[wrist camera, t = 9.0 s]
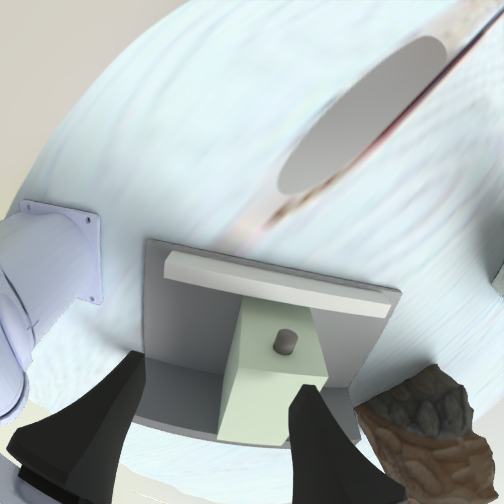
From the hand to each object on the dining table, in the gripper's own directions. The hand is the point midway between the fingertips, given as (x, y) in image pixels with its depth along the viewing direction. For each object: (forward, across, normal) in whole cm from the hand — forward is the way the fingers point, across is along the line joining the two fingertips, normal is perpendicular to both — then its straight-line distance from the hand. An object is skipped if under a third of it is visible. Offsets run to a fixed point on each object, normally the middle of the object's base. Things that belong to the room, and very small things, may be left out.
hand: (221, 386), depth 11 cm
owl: (+10, -24, +12) cm, 28 cm away
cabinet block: (+9, -3, +5) cm, 11 cm away
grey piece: (+9, -3, +4) cm, 11 cm away
